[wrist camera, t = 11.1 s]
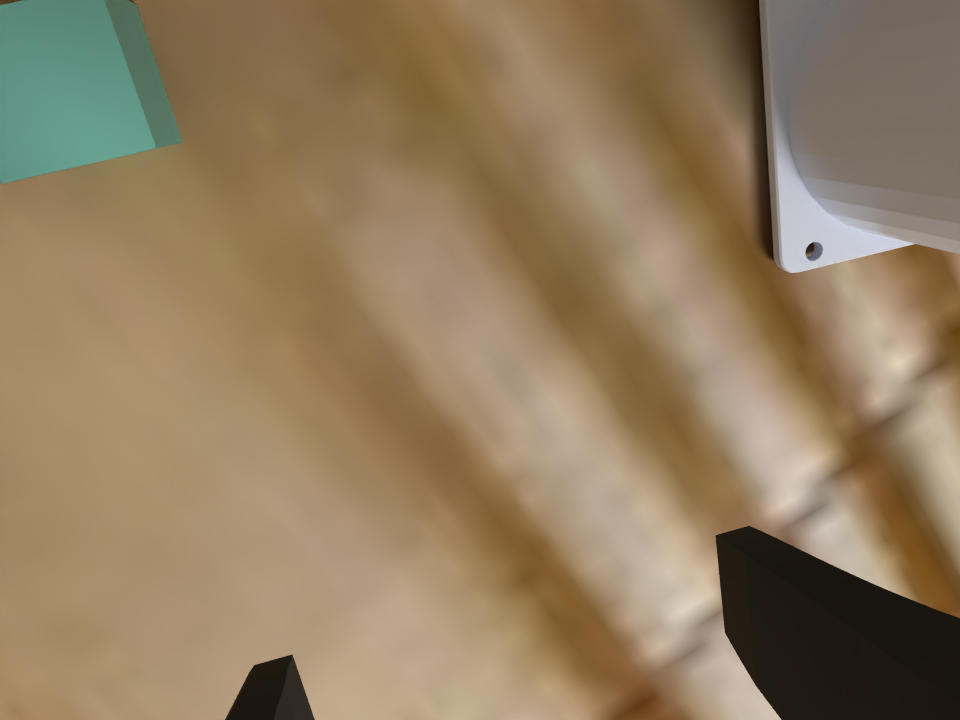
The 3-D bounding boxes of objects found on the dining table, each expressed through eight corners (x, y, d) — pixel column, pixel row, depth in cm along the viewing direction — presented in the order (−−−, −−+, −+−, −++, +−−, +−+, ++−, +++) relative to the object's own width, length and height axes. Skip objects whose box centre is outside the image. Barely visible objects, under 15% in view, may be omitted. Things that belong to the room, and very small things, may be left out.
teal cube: (136, 5, 17) (98, -16, 14) (183, 142, 18) (156, 148, 15) (-2, 34, 17) (-69, 18, 14) (53, 171, 18) (1, 183, 15)
